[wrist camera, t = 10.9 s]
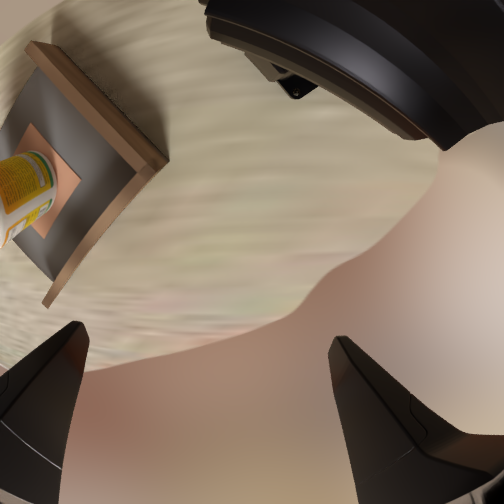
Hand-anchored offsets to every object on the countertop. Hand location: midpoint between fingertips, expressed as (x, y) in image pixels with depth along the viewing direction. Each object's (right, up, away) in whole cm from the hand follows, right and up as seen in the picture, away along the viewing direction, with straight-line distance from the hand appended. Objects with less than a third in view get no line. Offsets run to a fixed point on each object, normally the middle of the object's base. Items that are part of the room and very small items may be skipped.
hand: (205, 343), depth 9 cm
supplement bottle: (-15, +9, +7) cm, 19 cm away
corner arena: (-15, +9, +8) cm, 19 cm away
